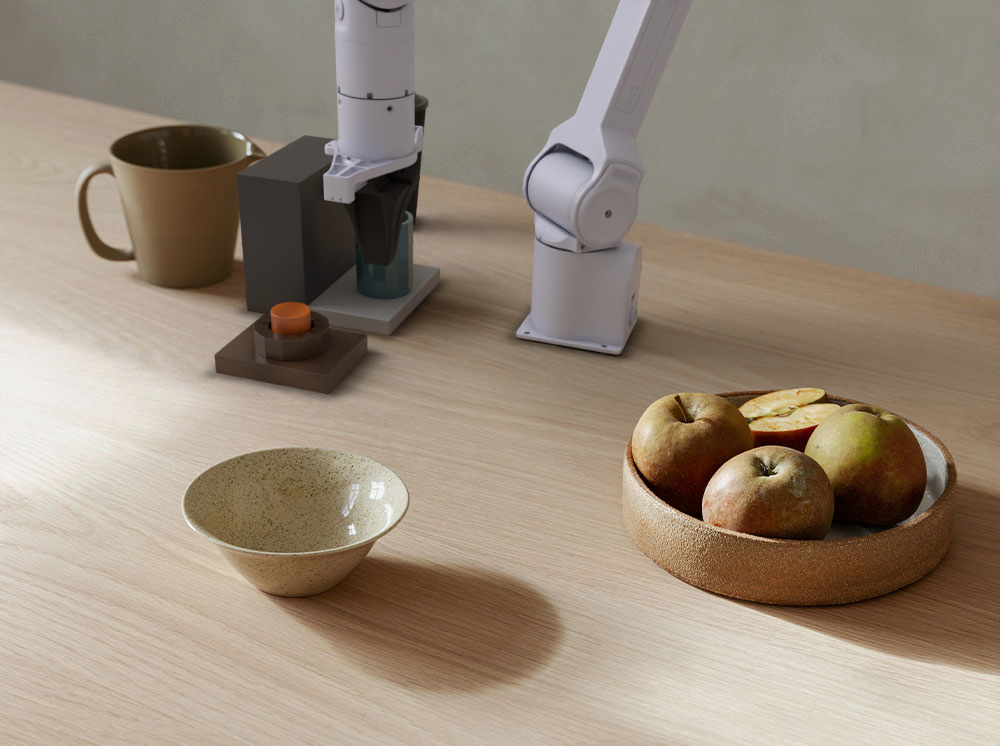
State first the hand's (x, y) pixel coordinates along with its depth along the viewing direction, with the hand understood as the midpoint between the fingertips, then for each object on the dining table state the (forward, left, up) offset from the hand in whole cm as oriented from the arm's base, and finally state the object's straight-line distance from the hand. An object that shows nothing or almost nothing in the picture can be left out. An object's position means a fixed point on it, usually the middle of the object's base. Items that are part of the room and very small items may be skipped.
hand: (378, 261), depth 88 cm
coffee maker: (+8, -12, -9) cm, 17 cm away
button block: (+7, +2, -9) cm, 12 cm away
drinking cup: (+12, -32, -10) cm, 35 cm away
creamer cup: (+5, -12, -8) cm, 15 cm away
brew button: (+7, +2, -6) cm, 10 cm away
